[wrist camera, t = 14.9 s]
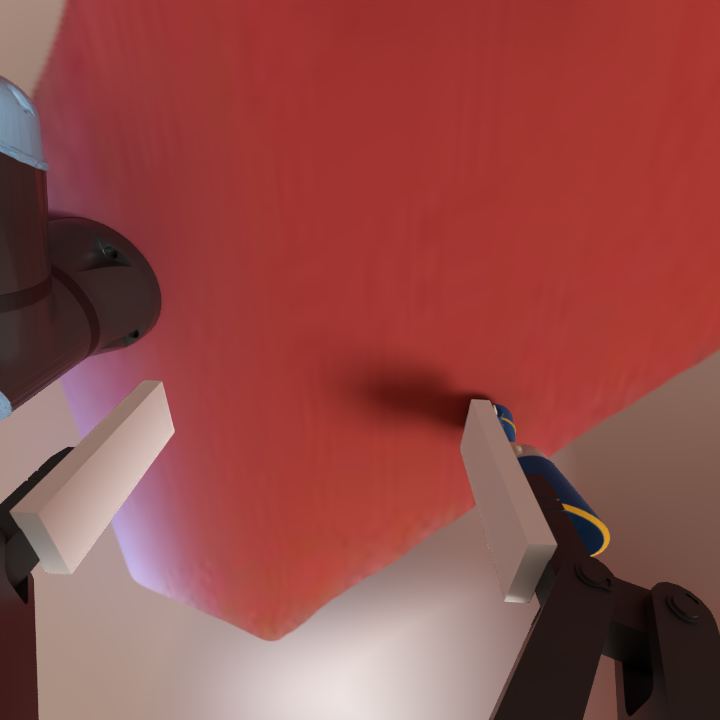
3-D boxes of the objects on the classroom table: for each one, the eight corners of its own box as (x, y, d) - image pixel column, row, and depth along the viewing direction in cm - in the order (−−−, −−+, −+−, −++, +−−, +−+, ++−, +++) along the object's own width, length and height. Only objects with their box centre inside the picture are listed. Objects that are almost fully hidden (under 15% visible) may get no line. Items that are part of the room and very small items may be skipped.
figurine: (449, 381, 49) (492, 508, 31) (523, 364, 47) (612, 488, 29) (465, 453, 54) (508, 594, 37) (532, 440, 53) (609, 581, 35)
